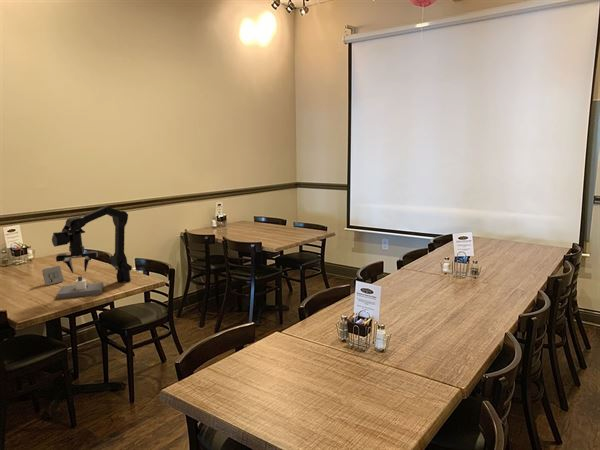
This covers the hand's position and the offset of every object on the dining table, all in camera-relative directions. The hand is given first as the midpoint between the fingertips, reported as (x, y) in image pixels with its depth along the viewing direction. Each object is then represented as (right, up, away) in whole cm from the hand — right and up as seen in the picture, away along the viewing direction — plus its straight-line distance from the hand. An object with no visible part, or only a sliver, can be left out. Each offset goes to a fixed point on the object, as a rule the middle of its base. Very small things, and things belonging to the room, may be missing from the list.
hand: (79, 272), depth 232 cm
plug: (0, -10, +2) cm, 11 cm away
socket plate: (0, -11, +2) cm, 11 cm away
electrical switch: (-24, -8, +19) cm, 32 cm away
